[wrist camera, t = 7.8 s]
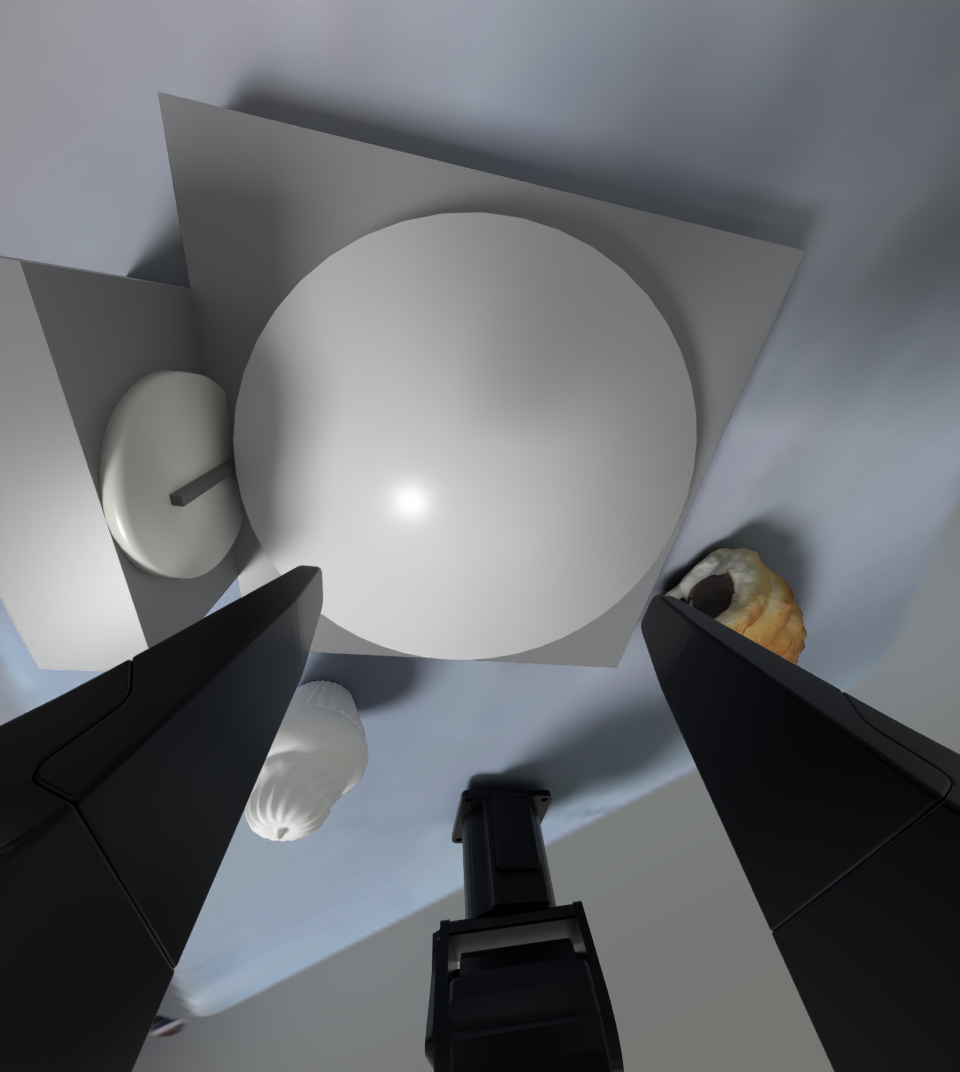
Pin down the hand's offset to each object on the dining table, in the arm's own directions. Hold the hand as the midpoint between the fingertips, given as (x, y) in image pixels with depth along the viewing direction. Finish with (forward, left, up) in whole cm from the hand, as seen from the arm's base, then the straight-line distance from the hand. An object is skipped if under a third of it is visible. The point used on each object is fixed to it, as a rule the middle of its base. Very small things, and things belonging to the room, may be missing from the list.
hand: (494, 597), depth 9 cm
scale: (0, 0, -9) cm, 9 cm away
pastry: (-9, -14, -10) cm, 20 cm away
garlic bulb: (-15, +7, -9) cm, 18 cm away
